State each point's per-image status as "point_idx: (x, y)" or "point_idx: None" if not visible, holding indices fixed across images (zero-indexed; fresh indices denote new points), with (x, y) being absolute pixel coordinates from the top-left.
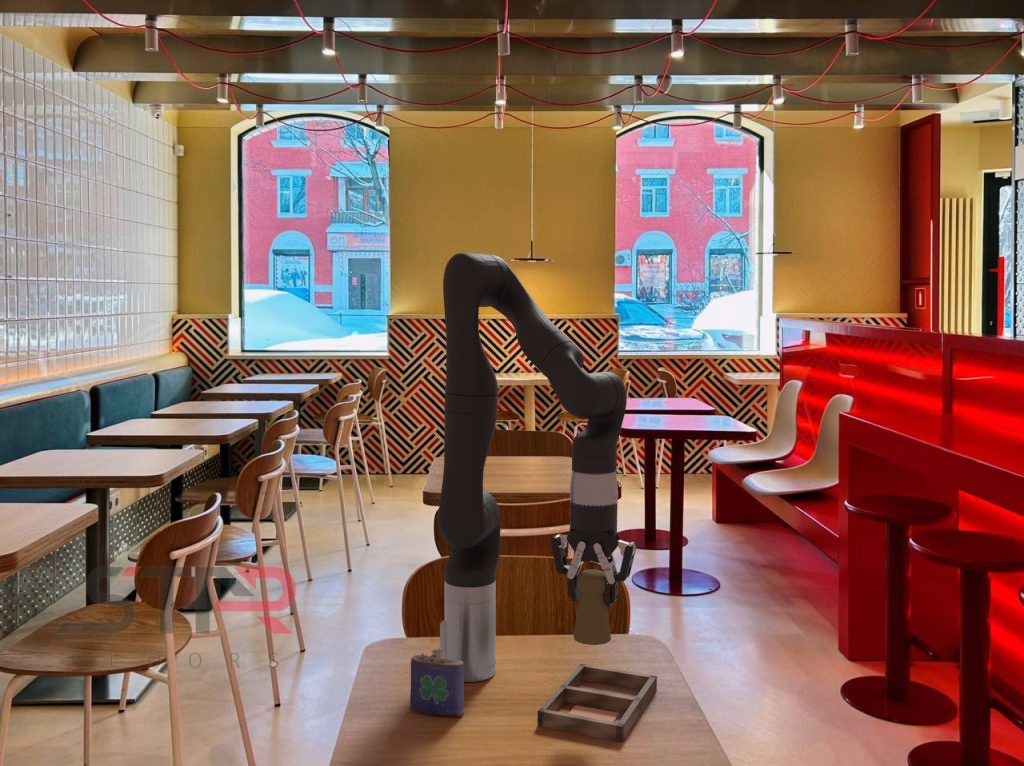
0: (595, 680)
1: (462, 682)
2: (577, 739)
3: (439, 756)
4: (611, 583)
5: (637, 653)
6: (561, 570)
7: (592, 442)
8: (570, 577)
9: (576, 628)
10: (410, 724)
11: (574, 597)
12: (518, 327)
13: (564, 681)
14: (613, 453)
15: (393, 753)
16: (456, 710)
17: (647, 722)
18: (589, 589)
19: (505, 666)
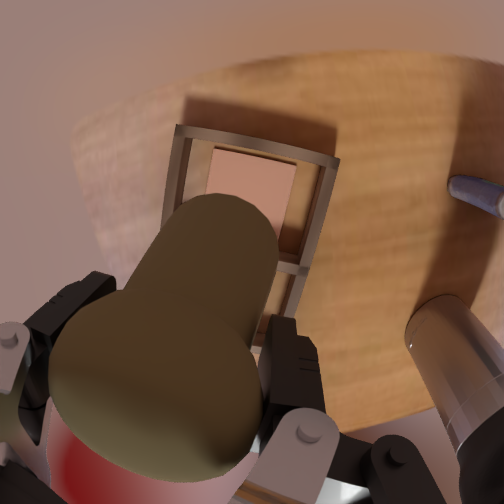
0: None
1: (479, 191)
2: (259, 119)
3: (448, 56)
4: (18, 325)
5: None
6: (386, 456)
7: None
8: (309, 417)
9: (266, 240)
10: (497, 151)
11: (276, 324)
12: None
13: (301, 290)
14: None
15: (493, 71)
16: (460, 177)
17: (154, 205)
18: (147, 295)
19: (389, 355)
